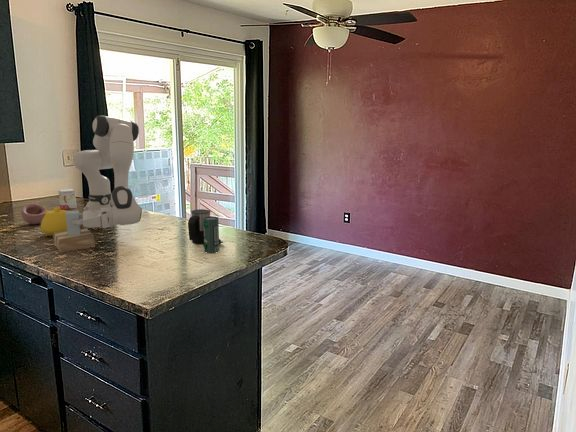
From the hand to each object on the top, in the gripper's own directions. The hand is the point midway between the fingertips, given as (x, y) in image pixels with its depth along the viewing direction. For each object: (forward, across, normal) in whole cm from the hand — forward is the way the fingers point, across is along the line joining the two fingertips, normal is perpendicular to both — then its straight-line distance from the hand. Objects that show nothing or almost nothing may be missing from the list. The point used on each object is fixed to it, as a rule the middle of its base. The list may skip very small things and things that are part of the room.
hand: (71, 219), depth 194 cm
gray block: (0, +1, +6) cm, 6 cm away
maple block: (0, 0, +12) cm, 12 cm away
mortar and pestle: (+20, -52, +12) cm, 57 cm away
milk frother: (-57, +19, +12) cm, 61 cm away
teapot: (+8, -24, +12) cm, 28 cm away
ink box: (+5, -90, +12) cm, 91 cm away
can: (-55, +32, +12) cm, 65 cm away
